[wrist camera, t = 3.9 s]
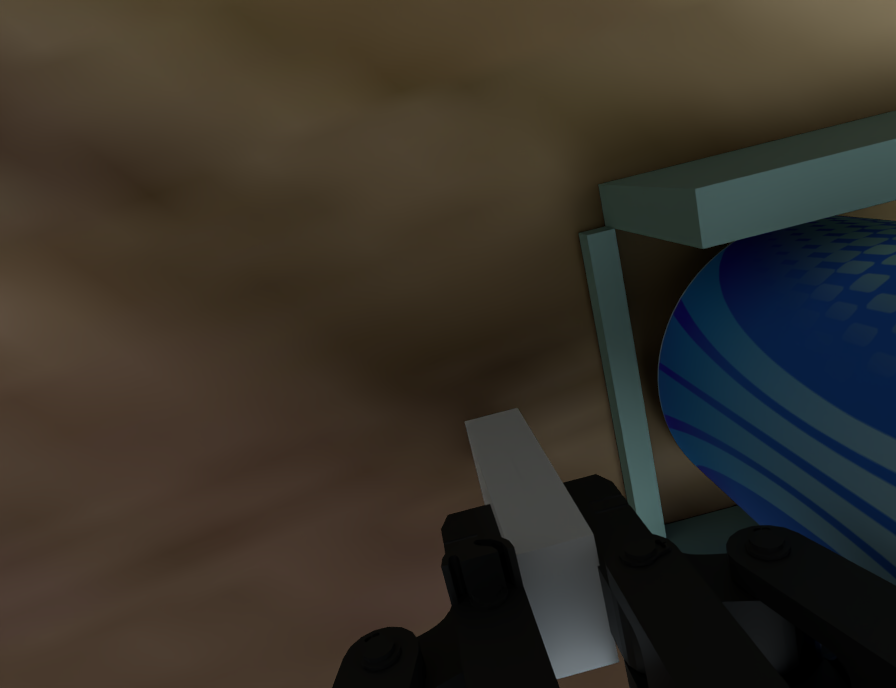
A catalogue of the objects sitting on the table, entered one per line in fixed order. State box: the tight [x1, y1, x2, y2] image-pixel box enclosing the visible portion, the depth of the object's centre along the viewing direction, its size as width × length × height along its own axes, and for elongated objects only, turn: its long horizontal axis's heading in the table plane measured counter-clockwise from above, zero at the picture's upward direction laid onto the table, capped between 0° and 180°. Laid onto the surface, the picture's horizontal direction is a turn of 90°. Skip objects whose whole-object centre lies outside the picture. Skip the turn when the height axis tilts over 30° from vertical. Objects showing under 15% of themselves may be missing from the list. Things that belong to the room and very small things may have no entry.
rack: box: [579, 111, 896, 554], centre depth 18 cm, size 12×13×6 cm
